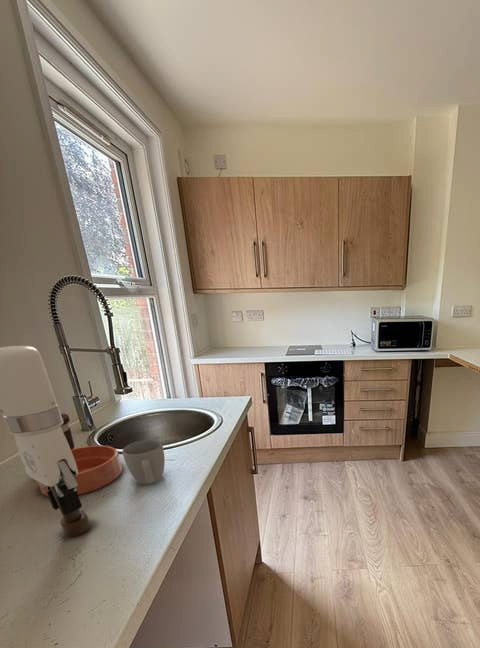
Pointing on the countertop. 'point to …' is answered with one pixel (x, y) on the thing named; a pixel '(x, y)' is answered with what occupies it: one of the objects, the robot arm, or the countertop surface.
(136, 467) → the mug
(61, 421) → the robot arm
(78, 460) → the bowl
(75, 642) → the countertop surface
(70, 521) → the pestle
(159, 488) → the countertop surface
